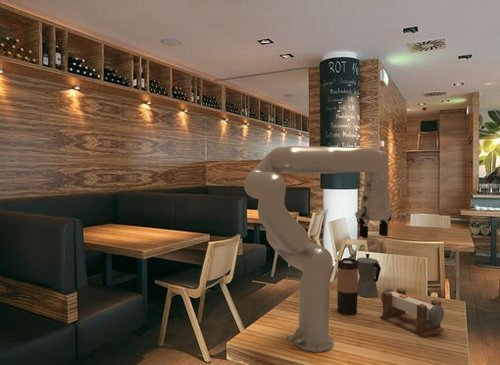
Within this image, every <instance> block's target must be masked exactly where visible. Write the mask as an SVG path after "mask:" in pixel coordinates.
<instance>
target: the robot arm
mask: <svg viewBox="0 0 500 365" xmlns="http://www.w3.org/2000/svg"><path fill="white" fill-rule="evenodd" d="M388 171H389V153H388V152H387V151H385V150H378V149H376V148H368V147H367V148H365V147H338V146H337V147H336V146H313V145H311V146H307V145H301V146H300V145H291V146H290V145H288V146H278V147H275V148H274V149H272V150H271V151H270V152H269V153H267V155H265V156H264V157H263V158H262V160H261V161H260V162H258V164H256V165H255V166H254V168H253V169H252V170H251V171H250V172H249V173H247V176H246V177H245V179H244V182H243V188H244V191H245V193H246V195H248V196H249V197H250V198H253V199H255V200H257V199H258V202H257V216H258V220H259V222H260V223H261V225H262V226H263V227H264V228H265V229H266V230H265V234H266V235H265V236H266V240H267V242H268V244H269V245H270V247H271V248H272V249H273V250H274V251H275V252H276V253H277V254H278V255H279V256H281V258H282V259H283V260H284V261H286V263H287V264H289V265H290V266H292V267H293V268H295V269H297V270H300V271H301V272H302V276H301V279H300V281H299V285H298V327H297V328H296V329H295V332H294V333H293V334H290V335H286V336H285V337H286V338H285V339H286V342H287V343H291V342H294V345H295V346H296V347H298V348H299V349H300V350H303V351H307V352H310V353H311V352H312V353H320V352H327V351H329V350H331V349H332V348H333V347H334V343H335V341H334V338H333V337H332V336H330V332H329V331H330V327H329V326H330V282H331V281H330V280H331V276H332V270H333V265H334V260H333V256H332V254H331V252H330V251H329V250H328V249H327V248H325V247H324V246H321V245H319V244H316V243H312V242H310V236H309V233H308V232H307V231H306V229H305V228H304V226H302V225H301V223H299V222H298V221H297V219H296V218H295V217H294V216H293V215H292V214H291V213H290V211H289V210H288V209H287V207H286V205H285V197H286V190H287V187H286V181H285V179H284V178H283V177H282V175H283V174H286V175H287V174H289V175H290V174H291V175H306V174H307V175H308V174H309V175H312V174H315V175H317V174H323V175H325V174H327V175H328V174H329V175H330V174H331V175H332V174H342V173H364V181H363V185H362V186H363V190H362V195H361V202H360V209H358V210H357V211H356V212H355V214H354V215H355V219H356V222H357V224H358V225H359V233H358V234H359V238H363V239H368V238H369V226H368V224H369V223H370V221H373V222H375V221H379V222H380V223H379V226H378V227H379V228H378V230H379V231H378V235H379V236H384V237H388V233H389V232H388V230H389V225H390V221H391V220H392V216H393V213H394V212H393V211H392V210H391V202H390V194H389V193H390V192H389V191H388V178H389V176H388V174H389V172H388Z"/></svg>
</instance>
